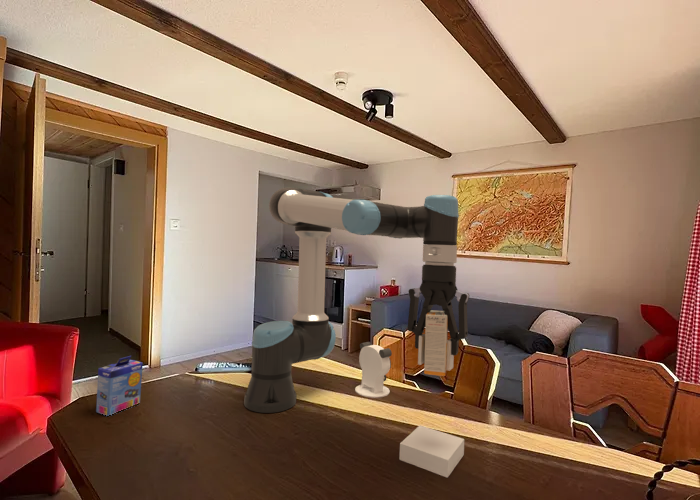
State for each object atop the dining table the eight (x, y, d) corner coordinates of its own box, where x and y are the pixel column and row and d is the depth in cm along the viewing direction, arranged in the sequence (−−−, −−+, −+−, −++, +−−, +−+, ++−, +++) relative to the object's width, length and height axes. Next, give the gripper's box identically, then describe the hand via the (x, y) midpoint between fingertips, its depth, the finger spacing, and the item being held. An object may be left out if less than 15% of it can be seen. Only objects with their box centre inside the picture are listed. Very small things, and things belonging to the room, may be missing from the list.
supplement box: (446, 377, 81) (448, 316, 81) (423, 374, 82) (425, 314, 82) (446, 366, 89) (448, 310, 89) (425, 364, 90) (427, 309, 90)
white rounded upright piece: (398, 393, 123) (399, 347, 123) (373, 401, 116) (375, 352, 116) (372, 382, 132) (374, 339, 132) (348, 389, 125) (349, 344, 125)
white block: (399, 461, 84) (400, 443, 84) (419, 441, 93) (419, 425, 93) (447, 479, 78) (448, 460, 78) (463, 456, 87) (464, 439, 87)
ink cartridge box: (108, 417, 99) (110, 362, 99) (94, 413, 101) (96, 359, 101) (142, 403, 108) (144, 353, 108) (128, 400, 110) (130, 350, 110)
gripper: (394, 262, 87) (390, 361, 87) (477, 266, 77) (473, 379, 77) (407, 261, 94) (403, 354, 94) (486, 266, 84) (482, 370, 84)
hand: (435, 365), depth 85 cm, fingers closed on supplement box, 6 cm apart
